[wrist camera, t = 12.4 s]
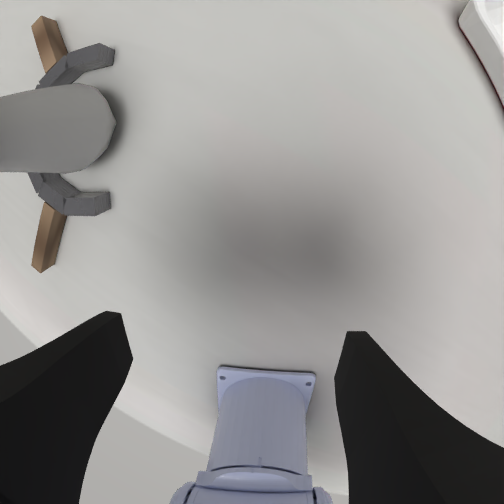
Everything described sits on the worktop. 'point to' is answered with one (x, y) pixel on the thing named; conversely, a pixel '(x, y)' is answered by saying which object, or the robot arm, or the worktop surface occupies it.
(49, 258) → the hinge leaves
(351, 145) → the worktop surface
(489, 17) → the pan
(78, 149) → the salt shaker
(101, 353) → the robot arm
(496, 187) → the worktop surface
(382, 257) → the worktop surface
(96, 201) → the silver segmented arch
